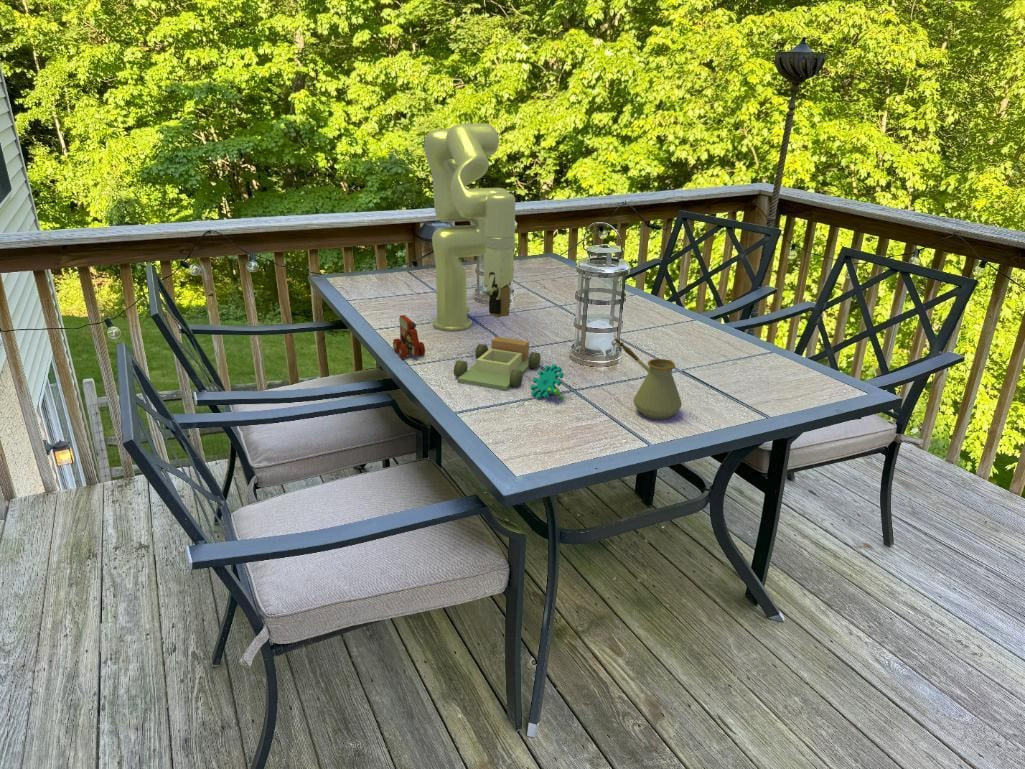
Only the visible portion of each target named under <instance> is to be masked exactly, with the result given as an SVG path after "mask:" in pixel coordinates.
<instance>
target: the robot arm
mask: <svg viewBox="0 0 1025 769" xmlns="http://www.w3.org/2000/svg"><path fill="white" fill-rule="evenodd" d="M499 142H500V141H499V135H498V132H497V129H496V128H495V127H494V126H493V125H491V124H490V123H458V124H455V125H453V126H451V127H450V128H441V129H439V128H438V129H434V130H431V131H430V132H428V133H426V134H425V138H424V144H423V145H424V146H423V147H424V155H425V158H426V161H427V164H428V167H429V169H430V170H429V171H430V173H431V178H432V189H433V190H432V191H433V193H432V194H433V201H434V202H433V204H434V206H433V207H434V213H435V217H436V218H437V220H438V221H441V222H444V223H445V222H447V223H454V222H455V223H456V222H469V223H470V225H469V224H468V225H449V226H443V227H440V228H439V227H438V228H437V229H436V230H434V232H433V234H432V237H431V244H432V250H433V254H434V262H435V279H436V280H435V281H436V284H435V285H436V311H437V312H436V318H434V319H433V320H432V326H433V327H434V328H435V329H437V330H440V331H448V332H451V331H452V332H457V331H462V330H466V329H467V330H468V328H470V327H471V326H472V324H473V322H472V320H471V319H470V318H469V317H468V313H469V312H470V311H471V308H470V307H469V305H467V303H468V301H467V297H468V296H467V294H468V293H467V269H466V268H465V266H464V265H463V263H461V261H460V260H459V258H468V257H479V256H483V255H484V260H483V261H484V264H483V283H482V284H483V287H484V288H486V293H487V295H488V302H489V303H488V312H489V314H490V313H492V314H501V299H500V292H501V288H502V287H504V286H508V287H509V288H510V290H509V308H510V305H511V304H510V303H511V301H510V300H511V298H510V296H511V285H512V284H511V283H512V282H513V280H514V251H513V250H515V248H516V246H515V242H516V239H515V238H516V235H515V234H516V197H515V196H514V195H513V193H509V192H508V191H507V190H506V189H505V188H503V187H484V188H483V187H482V188H481V187H480V188H479V187H477V188H475V187H474V188H467V187H466V186H468V185H470V184H472V183H474V182H476V181H478V180H480V179H481V178H483V177H484V175H486V173H487V172H488V169H489V166H490V165H489V164H490V162H489V159H488V157H491V156H493V155H495V154H496V152H497V151H498V148H499V145H500V143H499ZM453 161H454V162H453ZM494 285H497V287H498V288H497V287H494ZM493 289H494V290H497V294H496V292H495V291H494V290H493Z"/></svg>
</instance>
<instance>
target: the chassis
mask: <svg viewBox="0 0 1025 769" xmlns="http://www.w3.org/2000/svg"><path fill="white" fill-rule="evenodd" d="M529 353H530V354H529ZM475 359H476V363H474V364H473V365H472V366H471V367H469V369H468V362H467V361H465V360H460V359H459V360H457V361H455V362H454V363H455V364H454V365H453V375H454V377H457V383H458V384H465V385H471V386H475V385H476V387H480V388H481V387H482V388H487V389H494V390H498V389H499V390H500V391H504V392H508V391H509V390H510V388H511V387H515V388H520V387H521V386H522V383H523V376H524V375H525V374H526V373H527V372H528V371H529V370H530V369H535V370H537V369H538V368H539V367H540V365H541V364H540V363H541V359H542V358H541V353H540V352H535V351H531V352H530V341H529V340H522V339H515V338H509V337H503V336H497V335H496V336H495V337H494V338H492V339H491V348H488V345H487V344H482V343H478V344H477V345H476V347H475ZM529 368H530V369H529ZM528 369H529V370H528ZM527 370H528V371H527ZM526 371H527V372H526ZM519 386H520V387H519Z"/></svg>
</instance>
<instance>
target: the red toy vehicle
mask: <svg viewBox="0 0 1025 769" xmlns="http://www.w3.org/2000/svg"><path fill="white" fill-rule="evenodd" d="M398 318H399V320H398V321H399V337H400V338H394V339H393V341H392V347H393V350H394V352H395V353H396V354H398V355H399V357H401V358H400V359H402V358H404V359H407V358H408V356H409V355H412V356H414V357H418V356H419V357H422V356H425V354H426V347H425V344H424V342H422V341H420V340H419V336H418V335H419V334H418V330H417V323H415V322H414V321H412V319H410V318H409V317H407V315H406V314H401V315H399V317H398Z"/></svg>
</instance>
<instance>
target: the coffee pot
mask: <svg viewBox="0 0 1025 769" xmlns="http://www.w3.org/2000/svg"><path fill="white" fill-rule="evenodd" d="M614 341H615V343H614ZM616 344H618V345H619V348H622V349H623V351H624V352H625V353H626V354H627V355H628V356H630V357H631V358H632V359H634V361H636V362H638V364H639V365H640V366H641V367H642V368H644V370H645V371H646V372H647V374H646V377H645V378H644V380H643V382H642V383H641V385H640V387H639V388H638V390H637V391H636V394H635V395H634V397H633V404H634V406H635V408H636V409H637V410H638V411H639V412H640V413H641V415H643V416H644V417H647V418H649V419H653V420H665V419H670V418H671V417H672V416H674V415H675V414H677V413H678V412H679V411H680V409H681V407H682V403H683V402H682V400H681V396H680V393H679V391H678V388H677V386H676V384H677V383H676V382H675V378H674V376H673V369H675V367H676V364H675V361H673V360H671V359H666V358H665V359H664V358H653V359H650V360H649V361H647V364H645V363H644V362H643V361H642V360H641V359H640V358H639V357H638V356H637V355H636V354H635V353H634V351H632V349H630V348H629V347H627V346H626V345H625V344H624V342H623V341H620V339H618V338H617V337H616V338H614V339H613V340H612V341H611V345H612V346H615V345H616Z"/></svg>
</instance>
